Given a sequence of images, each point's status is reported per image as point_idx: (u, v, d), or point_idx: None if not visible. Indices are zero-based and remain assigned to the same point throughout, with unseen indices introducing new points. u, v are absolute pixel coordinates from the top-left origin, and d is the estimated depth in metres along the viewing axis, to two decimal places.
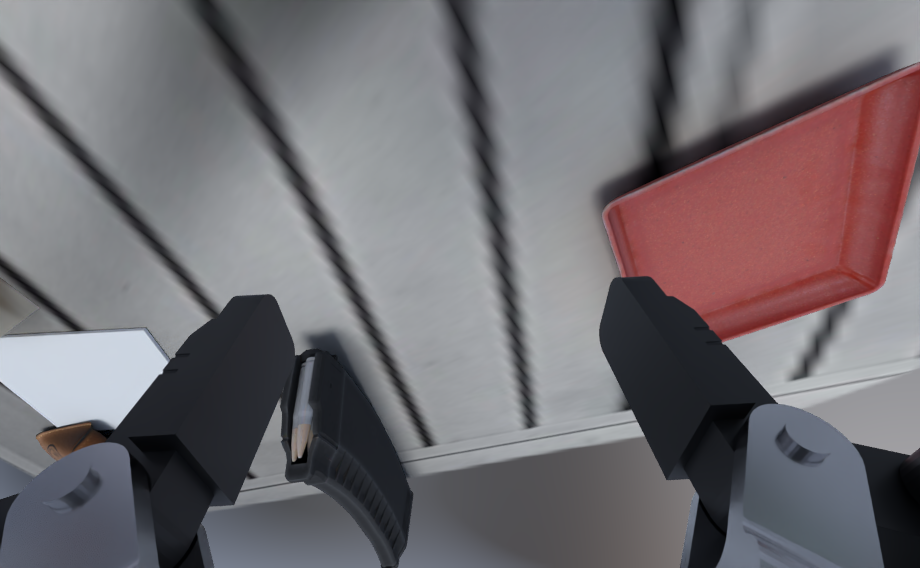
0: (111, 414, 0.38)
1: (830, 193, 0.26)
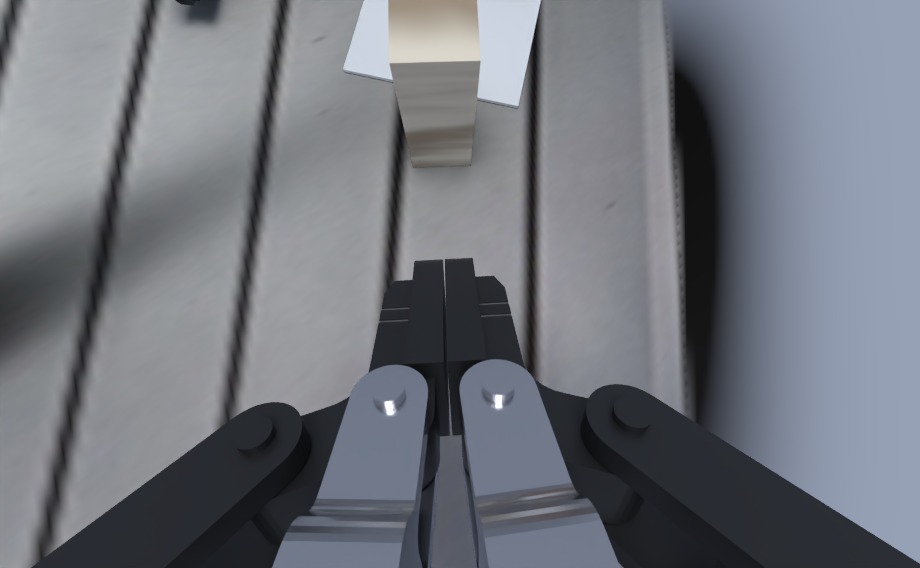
0: None
1: None
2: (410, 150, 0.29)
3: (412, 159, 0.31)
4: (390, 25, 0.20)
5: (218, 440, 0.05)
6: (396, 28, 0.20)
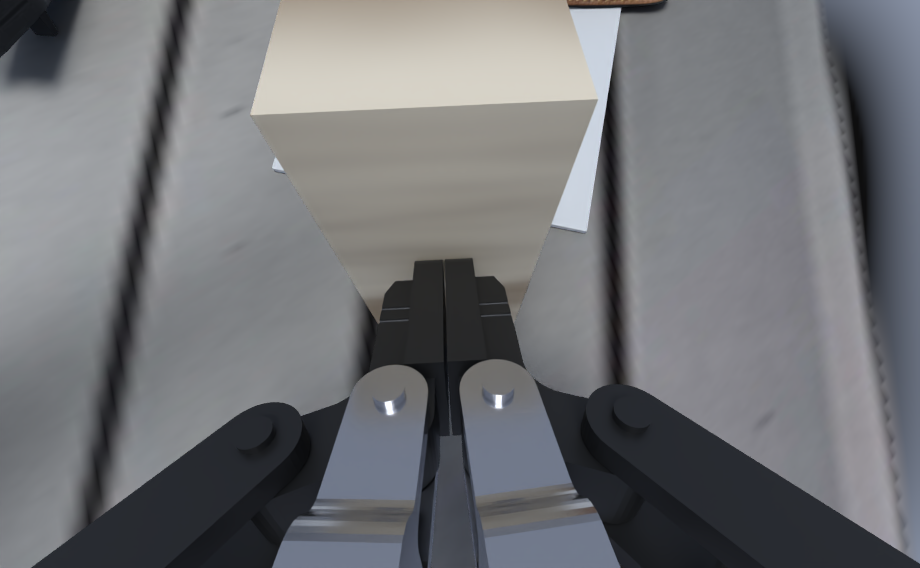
0: None
1: None
2: None
3: None
4: (282, 18, 0.06)
5: (218, 440, 0.05)
6: (300, 22, 0.06)
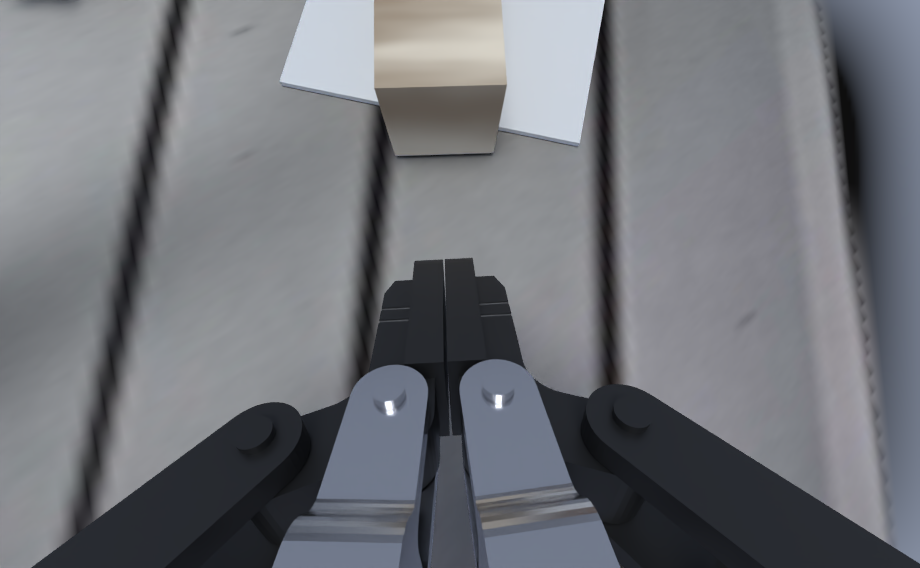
0: None
1: None
2: (376, 22, 0.14)
3: (376, 55, 0.14)
4: None
5: (218, 440, 0.05)
6: None
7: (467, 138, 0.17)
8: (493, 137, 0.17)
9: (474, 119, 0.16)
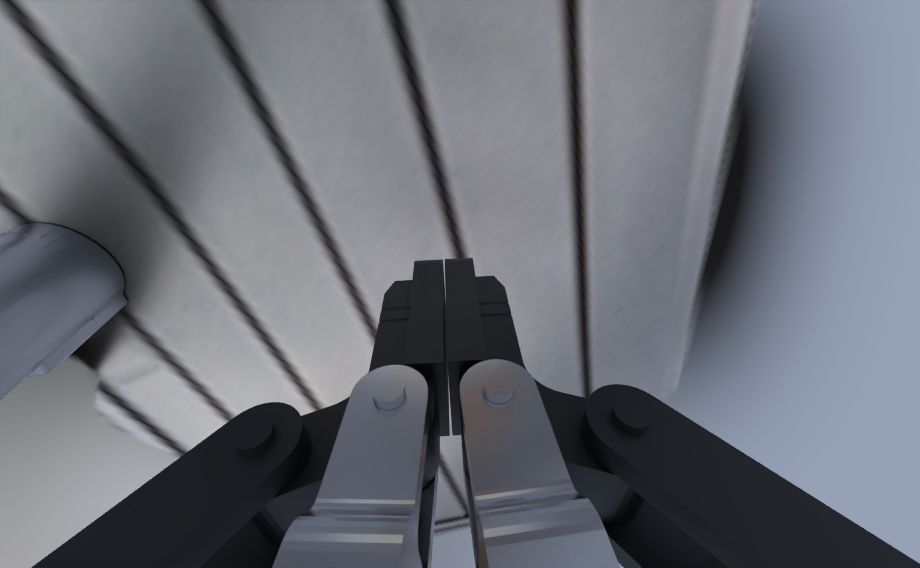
0: None
1: None
2: None
3: None
4: None
5: (218, 440, 0.05)
6: None
7: None
8: None
9: None
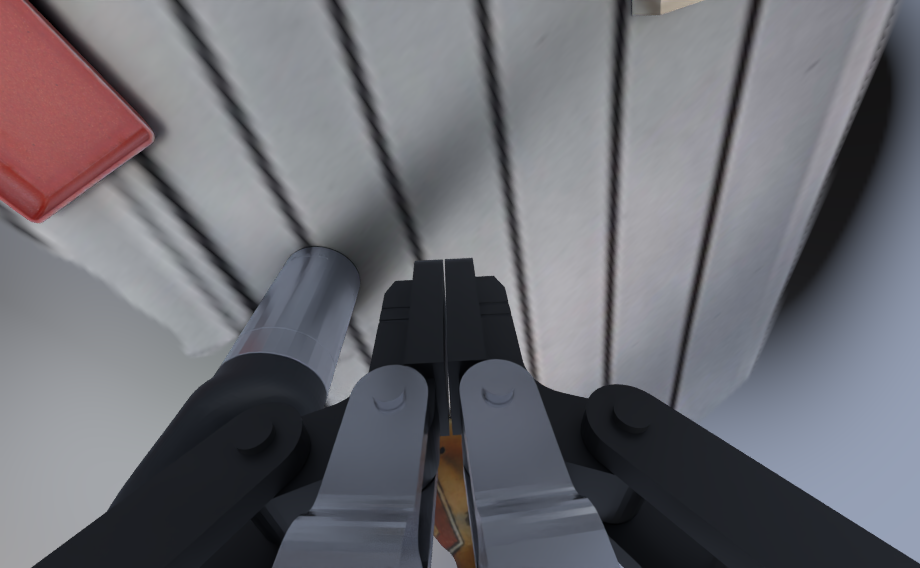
0: None
1: None
2: None
3: None
4: None
5: (218, 440, 0.05)
6: None
7: None
8: None
9: None
